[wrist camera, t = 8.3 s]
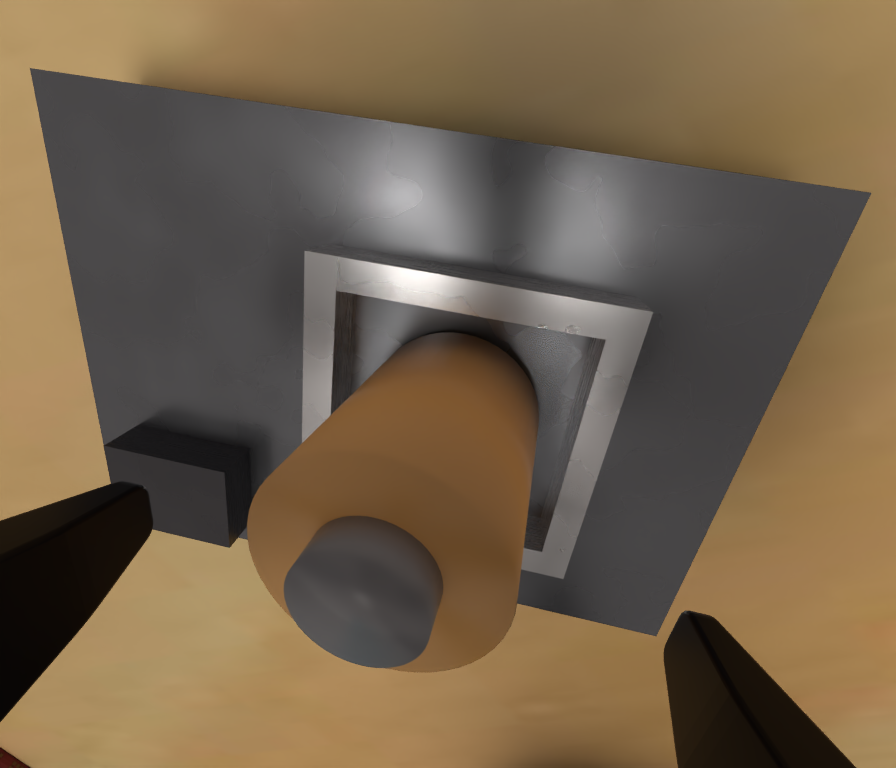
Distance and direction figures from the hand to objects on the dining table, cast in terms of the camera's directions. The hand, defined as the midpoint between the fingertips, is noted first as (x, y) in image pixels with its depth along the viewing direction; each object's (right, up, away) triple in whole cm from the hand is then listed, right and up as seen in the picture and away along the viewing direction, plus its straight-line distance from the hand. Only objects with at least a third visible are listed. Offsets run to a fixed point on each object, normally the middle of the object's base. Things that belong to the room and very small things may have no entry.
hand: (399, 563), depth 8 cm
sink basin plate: (0, +4, +9) cm, 10 cm away
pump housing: (+1, +2, +5) cm, 6 cm away
